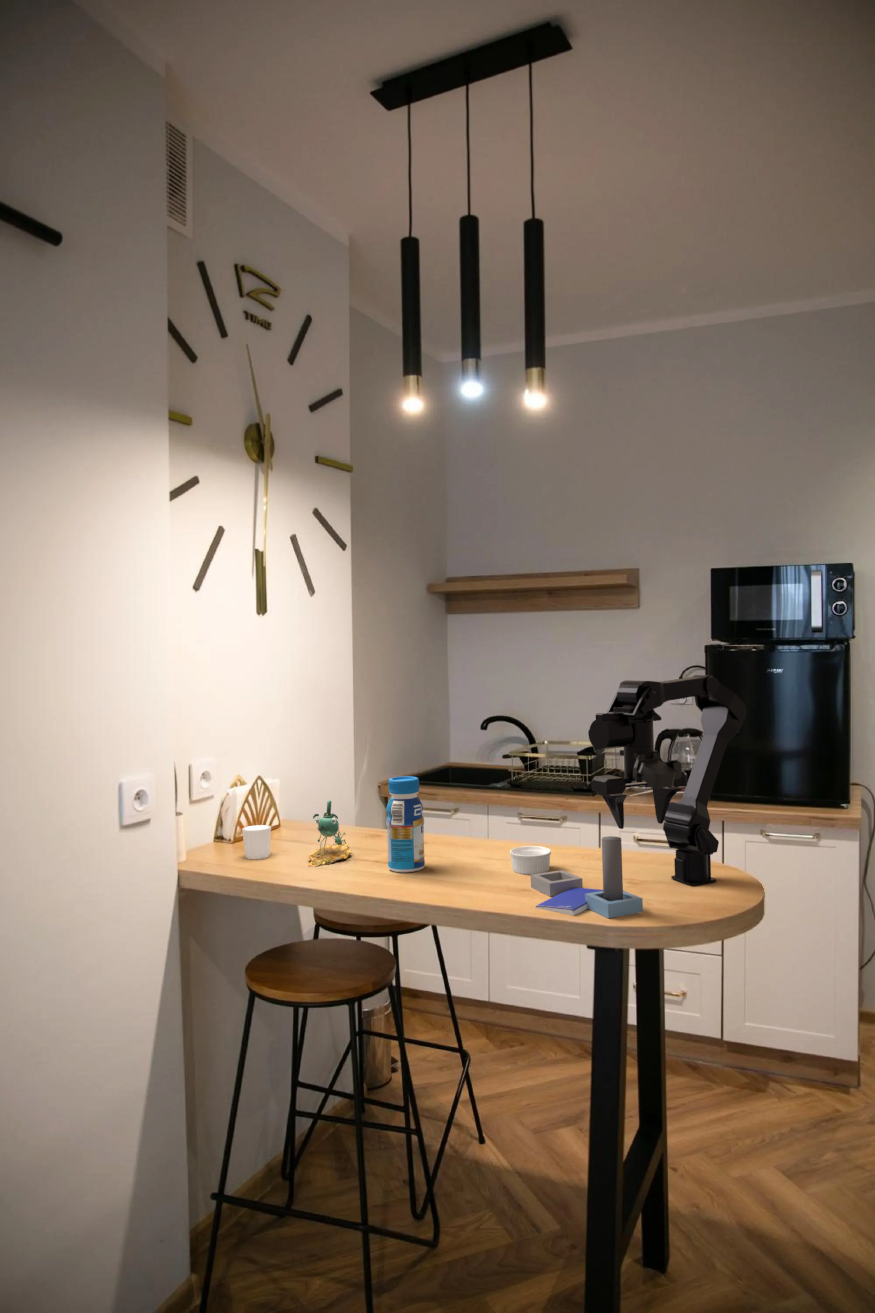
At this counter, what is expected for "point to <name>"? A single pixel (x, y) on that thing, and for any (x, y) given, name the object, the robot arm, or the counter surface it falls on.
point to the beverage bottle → (405, 825)
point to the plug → (612, 868)
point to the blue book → (568, 901)
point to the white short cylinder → (257, 841)
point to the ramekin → (530, 859)
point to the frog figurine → (328, 829)
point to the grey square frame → (555, 882)
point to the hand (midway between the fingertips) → (640, 826)
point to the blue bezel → (614, 904)
